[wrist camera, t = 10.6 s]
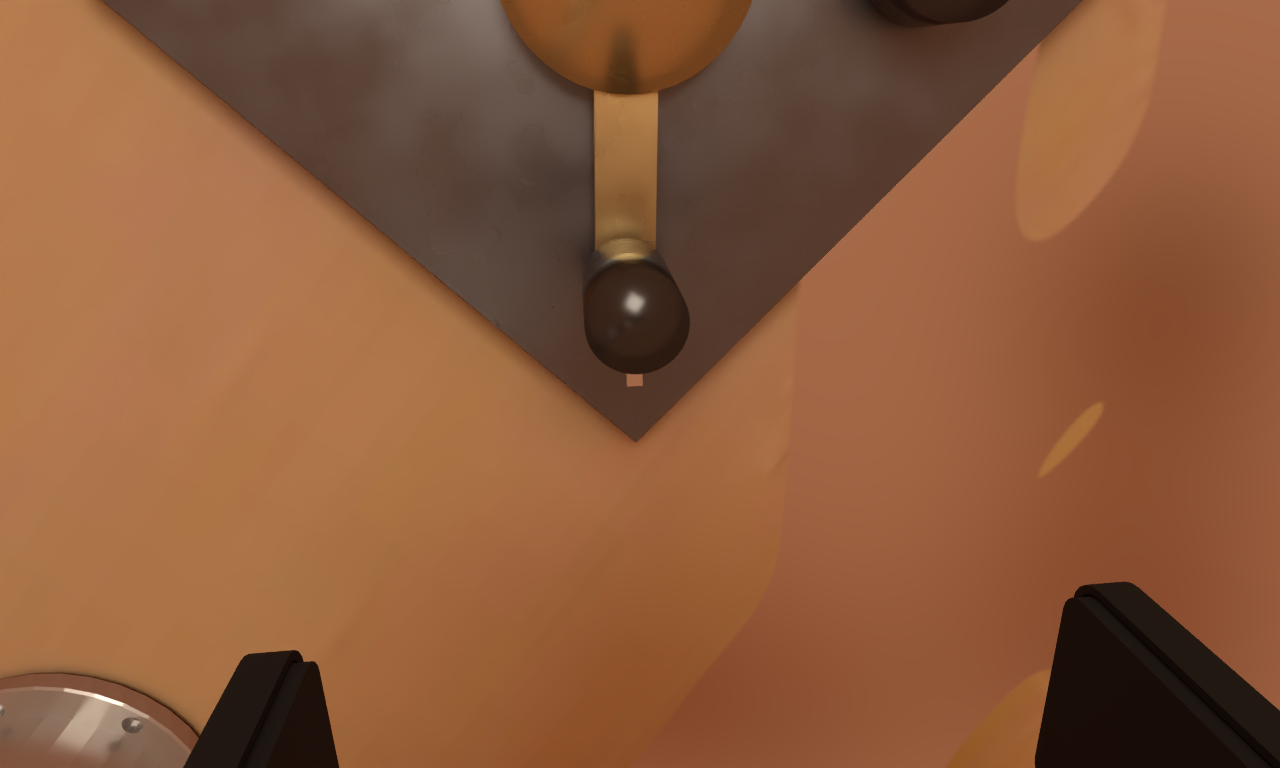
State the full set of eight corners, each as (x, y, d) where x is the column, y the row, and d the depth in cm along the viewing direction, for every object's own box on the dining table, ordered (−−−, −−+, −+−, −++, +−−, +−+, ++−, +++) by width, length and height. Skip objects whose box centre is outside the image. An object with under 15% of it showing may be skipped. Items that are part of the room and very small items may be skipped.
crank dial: (486, -200, 24) (458, -292, 18) (756, -190, 24) (819, -276, 18) (511, 312, 29) (497, 377, 23) (730, 309, 30) (772, 371, 24)
